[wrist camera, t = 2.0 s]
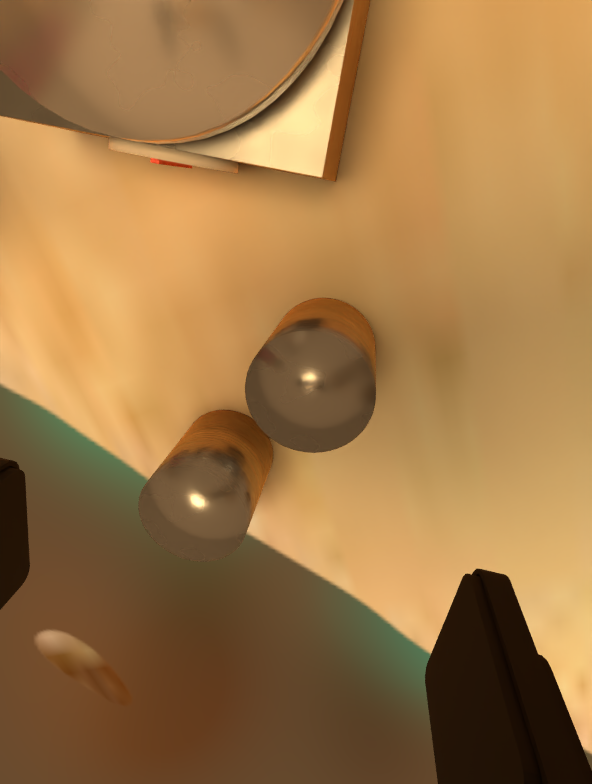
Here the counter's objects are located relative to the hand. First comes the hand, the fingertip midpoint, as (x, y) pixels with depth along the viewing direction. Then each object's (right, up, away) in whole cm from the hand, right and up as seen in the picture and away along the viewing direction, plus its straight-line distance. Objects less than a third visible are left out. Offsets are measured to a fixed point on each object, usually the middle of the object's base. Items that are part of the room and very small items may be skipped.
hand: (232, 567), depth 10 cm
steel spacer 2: (+3, +6, +14) cm, 15 cm away
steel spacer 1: (-2, 0, +17) cm, 17 cm away
